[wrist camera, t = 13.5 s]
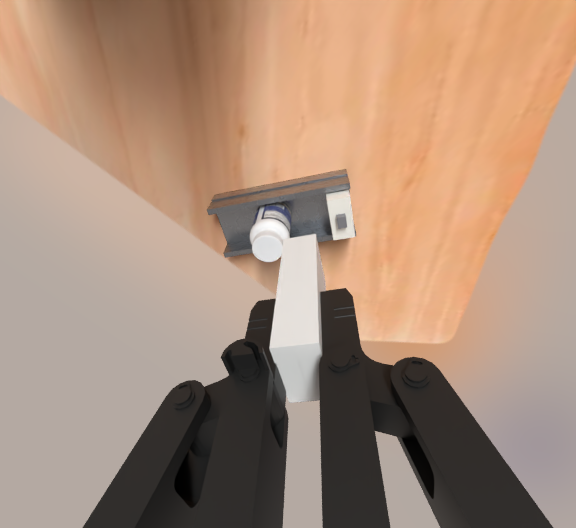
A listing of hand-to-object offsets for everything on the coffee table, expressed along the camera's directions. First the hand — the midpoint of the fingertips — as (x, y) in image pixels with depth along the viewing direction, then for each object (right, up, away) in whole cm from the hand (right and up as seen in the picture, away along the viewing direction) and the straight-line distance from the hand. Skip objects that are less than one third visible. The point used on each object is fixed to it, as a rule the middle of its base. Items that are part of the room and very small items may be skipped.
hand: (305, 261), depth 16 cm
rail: (-1, +8, +36) cm, 37 cm away
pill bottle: (-3, +7, +35) cm, 36 cm away
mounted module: (+7, +9, +33) cm, 35 cm away
